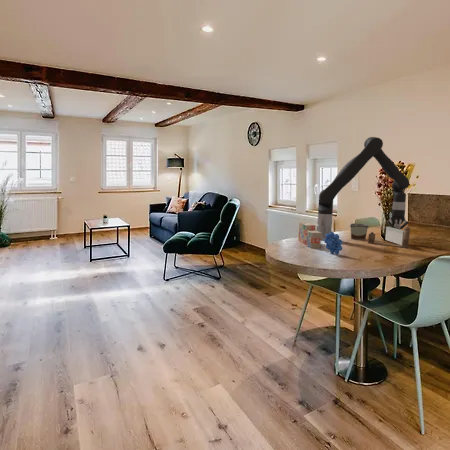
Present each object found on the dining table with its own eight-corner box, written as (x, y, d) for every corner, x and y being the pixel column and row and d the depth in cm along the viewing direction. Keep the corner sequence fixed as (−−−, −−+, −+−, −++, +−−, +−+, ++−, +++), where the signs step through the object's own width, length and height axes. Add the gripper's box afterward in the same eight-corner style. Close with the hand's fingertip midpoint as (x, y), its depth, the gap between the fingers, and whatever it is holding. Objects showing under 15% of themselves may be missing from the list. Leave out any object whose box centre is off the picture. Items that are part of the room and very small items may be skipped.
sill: (400, 247, 209) (400, 246, 209) (374, 243, 220) (374, 242, 220) (402, 246, 212) (402, 245, 212) (377, 242, 223) (377, 241, 223)
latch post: (372, 243, 219) (373, 232, 218) (367, 243, 221) (368, 232, 220) (374, 243, 221) (375, 232, 220) (370, 242, 223) (371, 231, 222)
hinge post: (407, 248, 207) (409, 227, 205) (401, 247, 209) (403, 226, 207) (408, 247, 209) (411, 226, 207) (403, 246, 211) (405, 226, 209)
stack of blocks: (320, 248, 202) (321, 227, 201) (310, 248, 202) (311, 227, 200) (307, 240, 223) (308, 222, 222) (298, 241, 223) (299, 222, 221)
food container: (365, 237, 239) (366, 223, 237) (367, 239, 233) (369, 225, 231) (346, 237, 240) (347, 223, 238) (348, 238, 234) (350, 224, 232)
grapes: (318, 252, 191) (320, 231, 189) (326, 250, 195) (327, 230, 193) (336, 256, 182) (338, 234, 180) (344, 255, 186) (346, 233, 184)
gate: (404, 245, 211) (406, 231, 210) (401, 245, 211) (402, 231, 209) (387, 239, 229) (388, 226, 227) (384, 239, 228) (385, 226, 227)
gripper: (388, 209, 221) (386, 235, 223) (411, 209, 217) (409, 236, 220) (386, 208, 228) (384, 233, 230) (408, 208, 224) (406, 234, 227)
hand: (396, 235), depth 225 cm, fingers closed
